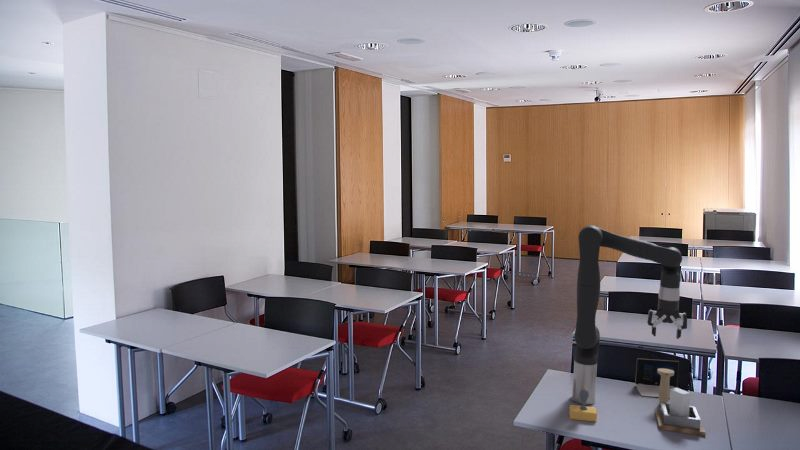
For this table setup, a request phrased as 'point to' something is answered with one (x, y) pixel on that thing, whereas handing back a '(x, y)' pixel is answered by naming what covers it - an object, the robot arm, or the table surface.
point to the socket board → (679, 421)
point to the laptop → (654, 376)
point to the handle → (664, 384)
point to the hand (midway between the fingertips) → (665, 337)
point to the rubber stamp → (583, 409)
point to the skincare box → (679, 402)
